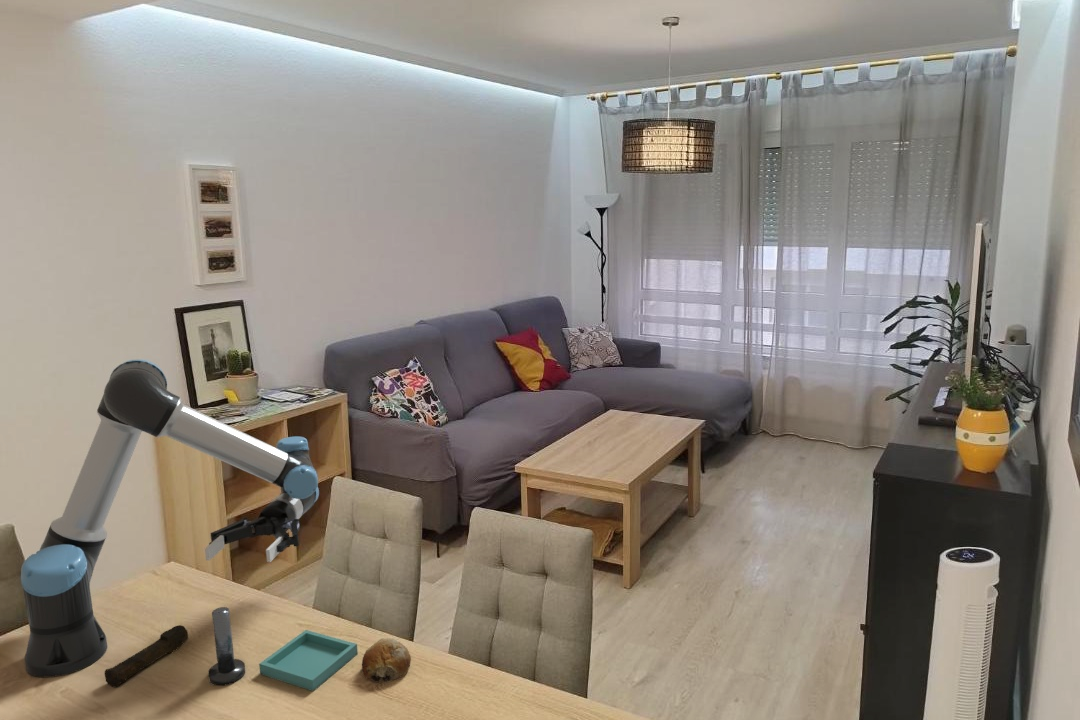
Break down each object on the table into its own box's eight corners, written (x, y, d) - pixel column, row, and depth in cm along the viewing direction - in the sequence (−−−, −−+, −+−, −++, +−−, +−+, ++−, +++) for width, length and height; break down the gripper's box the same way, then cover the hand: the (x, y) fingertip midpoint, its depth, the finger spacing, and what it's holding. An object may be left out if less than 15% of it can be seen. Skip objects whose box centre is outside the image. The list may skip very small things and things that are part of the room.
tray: (260, 674, 160) (259, 663, 160) (306, 639, 173) (305, 629, 172) (313, 691, 155) (312, 680, 154) (357, 654, 167) (356, 643, 166)
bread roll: (416, 684, 162) (424, 645, 164) (384, 689, 154) (394, 647, 155) (380, 670, 167) (389, 632, 169) (348, 674, 159) (357, 634, 160)
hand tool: (117, 691, 156) (114, 670, 155) (104, 685, 158) (101, 665, 157) (196, 643, 172) (194, 624, 171) (184, 639, 174) (182, 620, 173)
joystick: (201, 680, 158) (193, 615, 155) (227, 662, 165) (221, 599, 162) (226, 689, 156) (219, 623, 153) (252, 670, 162) (246, 606, 159)
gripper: (332, 530, 184) (295, 573, 164) (232, 528, 187) (184, 570, 166) (329, 500, 183) (292, 540, 162) (229, 499, 185) (179, 537, 165)
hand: (237, 555), depth 164 cm, fingers open, 13 cm apart
